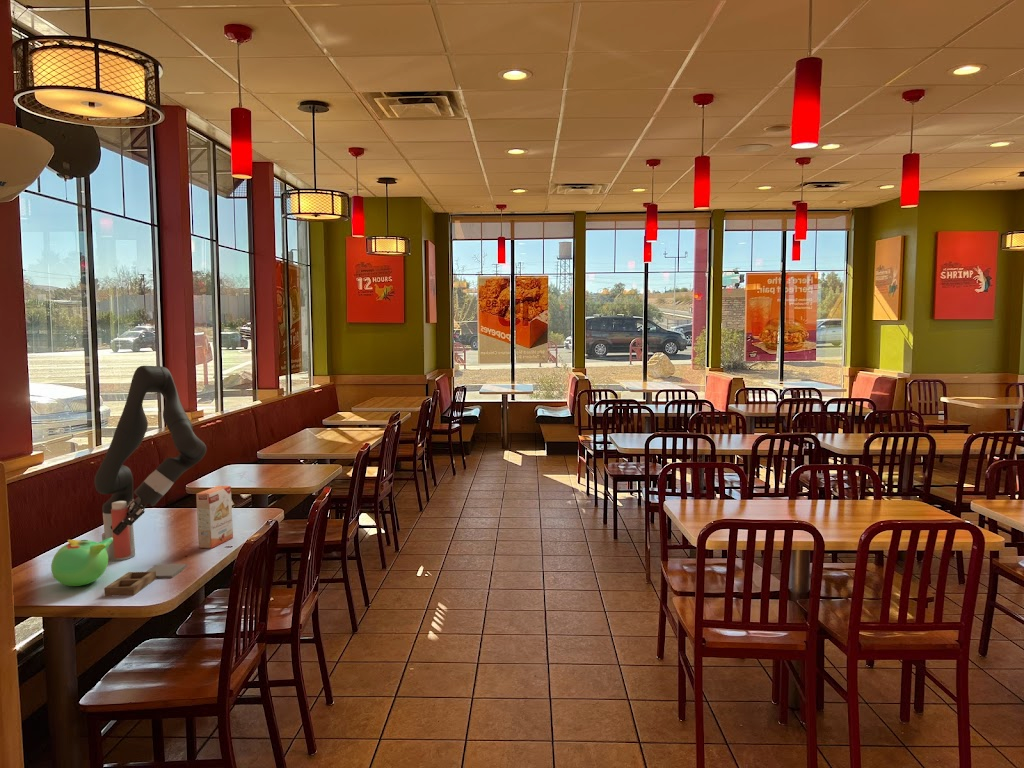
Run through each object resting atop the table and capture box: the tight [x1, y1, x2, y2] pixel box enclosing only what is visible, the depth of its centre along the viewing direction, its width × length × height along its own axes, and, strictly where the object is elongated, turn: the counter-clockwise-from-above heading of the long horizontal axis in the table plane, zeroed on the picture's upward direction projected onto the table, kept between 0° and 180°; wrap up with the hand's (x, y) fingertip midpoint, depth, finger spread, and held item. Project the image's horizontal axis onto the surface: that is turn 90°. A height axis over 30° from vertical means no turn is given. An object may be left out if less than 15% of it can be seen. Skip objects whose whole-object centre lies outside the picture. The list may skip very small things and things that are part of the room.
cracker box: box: [195, 485, 234, 549], centre depth 270 cm, size 14×6×21 cm, turn 168°
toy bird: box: [50, 537, 113, 587], centre depth 230 cm, size 18×17×15 cm
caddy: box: [103, 571, 157, 597], centre depth 225 cm, size 14×9×2 cm, turn 1°
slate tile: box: [145, 563, 188, 579], centre depth 239 cm, size 11×11×1 cm
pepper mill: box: [111, 501, 131, 558], centre depth 220 cm, size 5×5×17 cm
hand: (114, 531), depth 219 cm, fingers closed on pepper mill, 4 cm apart
